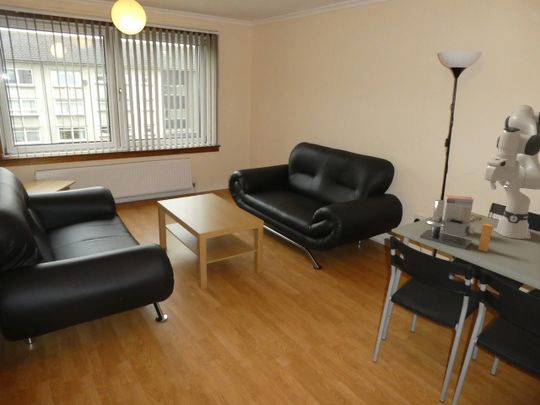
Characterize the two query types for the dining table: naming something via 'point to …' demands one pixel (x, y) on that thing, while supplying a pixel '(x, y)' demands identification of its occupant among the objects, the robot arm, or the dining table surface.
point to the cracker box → (457, 208)
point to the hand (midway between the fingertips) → (499, 188)
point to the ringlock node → (447, 228)
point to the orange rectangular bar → (485, 237)
